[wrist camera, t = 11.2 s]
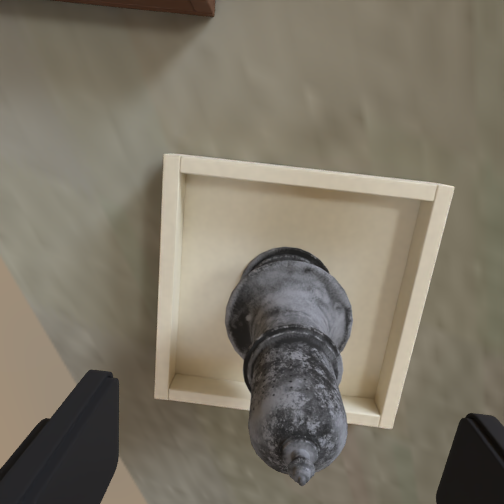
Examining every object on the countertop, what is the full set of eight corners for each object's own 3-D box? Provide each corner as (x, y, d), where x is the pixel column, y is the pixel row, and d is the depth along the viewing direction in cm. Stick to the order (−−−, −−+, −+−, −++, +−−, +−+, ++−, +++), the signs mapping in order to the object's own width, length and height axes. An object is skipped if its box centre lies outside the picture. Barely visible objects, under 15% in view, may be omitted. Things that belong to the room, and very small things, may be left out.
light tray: (164, 377, 23) (154, 398, 21) (174, 153, 19) (163, 153, 17) (382, 405, 22) (392, 429, 20) (436, 182, 19) (455, 186, 17)
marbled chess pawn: (362, 291, 20) (485, 487, 8) (286, 359, 21) (302, 607, 10) (284, 218, 19) (302, 324, 7) (211, 293, 20) (130, 481, 9)
